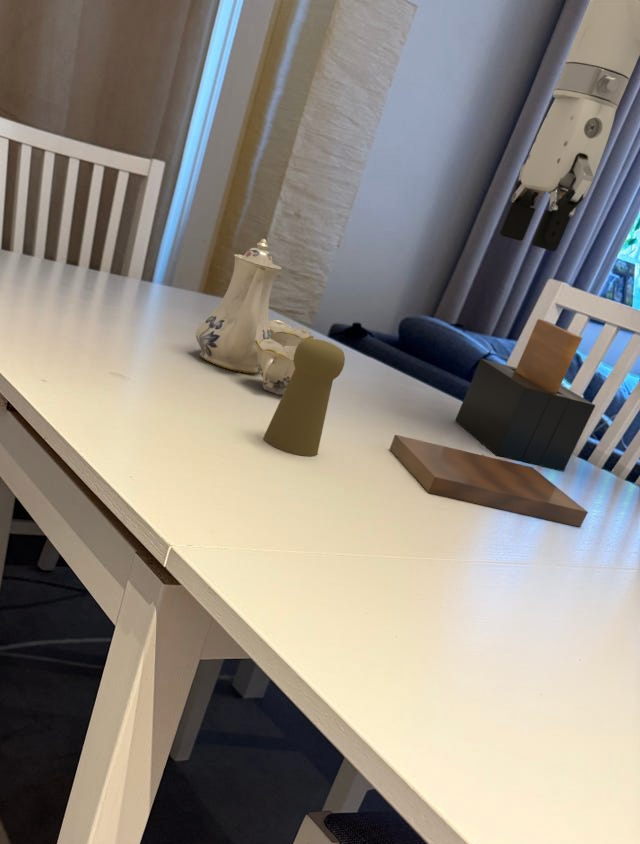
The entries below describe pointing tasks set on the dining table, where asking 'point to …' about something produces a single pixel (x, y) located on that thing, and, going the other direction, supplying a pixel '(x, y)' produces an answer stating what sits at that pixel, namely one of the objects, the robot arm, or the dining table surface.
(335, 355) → the cork
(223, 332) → the chinaware
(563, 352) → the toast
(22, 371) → the dining table surface
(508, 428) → the grooved black box
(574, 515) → the breadboard
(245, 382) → the dining table surface
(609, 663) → the dining table surface
